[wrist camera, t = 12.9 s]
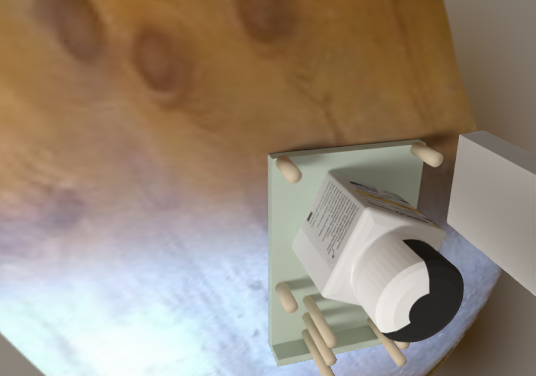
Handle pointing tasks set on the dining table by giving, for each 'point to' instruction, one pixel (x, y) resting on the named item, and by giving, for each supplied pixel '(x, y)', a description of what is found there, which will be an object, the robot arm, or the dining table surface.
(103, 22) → the dining table surface
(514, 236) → the robot arm
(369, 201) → the container
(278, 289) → the dish rack
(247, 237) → the dining table surface
